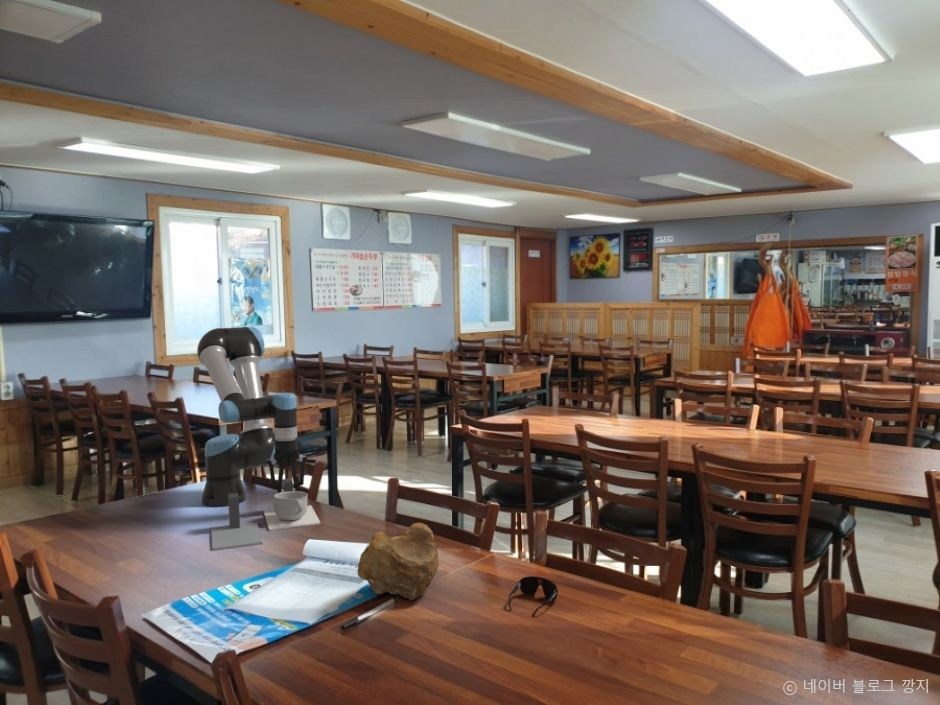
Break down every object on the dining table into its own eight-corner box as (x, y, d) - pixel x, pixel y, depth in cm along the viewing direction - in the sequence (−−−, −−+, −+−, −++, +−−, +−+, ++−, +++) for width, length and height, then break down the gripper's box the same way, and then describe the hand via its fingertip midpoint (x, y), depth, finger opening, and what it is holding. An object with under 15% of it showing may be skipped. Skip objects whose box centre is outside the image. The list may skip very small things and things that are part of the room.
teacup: (272, 515, 234) (271, 492, 234) (304, 511, 239) (304, 488, 238) (279, 528, 222) (278, 503, 221) (313, 523, 226) (312, 498, 225)
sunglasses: (561, 599, 170) (560, 580, 169) (542, 625, 160) (540, 605, 159) (522, 590, 175) (521, 573, 174) (501, 615, 165) (500, 596, 164)
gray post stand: (211, 528, 224) (209, 495, 223) (256, 522, 229) (255, 490, 228) (212, 550, 205) (210, 515, 204) (262, 543, 210) (261, 509, 209)
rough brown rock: (395, 619, 162) (399, 557, 160) (348, 594, 172) (351, 535, 171) (460, 589, 180) (465, 533, 178) (414, 568, 190) (418, 515, 189)
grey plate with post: (263, 511, 241) (262, 481, 240) (310, 506, 246) (309, 476, 245) (269, 530, 221) (267, 497, 220) (320, 524, 227) (319, 492, 226)
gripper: (262, 443, 231) (265, 512, 233) (311, 438, 237) (313, 506, 239) (260, 438, 238) (263, 506, 240) (308, 434, 244) (310, 500, 246)
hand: (288, 506), depth 240 cm, fingers closed on grey plate with post, 3 cm apart
